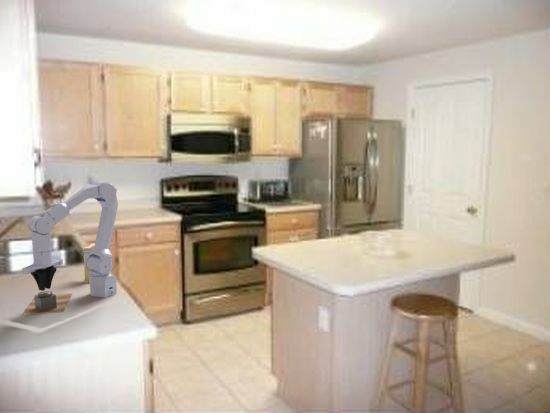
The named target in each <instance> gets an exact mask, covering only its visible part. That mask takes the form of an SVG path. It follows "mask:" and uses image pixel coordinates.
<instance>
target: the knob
mask: <svg viewBox="0 0 550 413" xmlns="http://www.w3.org/2000/svg"><path fill="white" fill-rule="evenodd" d="M55 294H56V293H53V292H52V291H51V290H47V291H46V290H44V291H39V292H38V293H37V294H35V295H34V297H35V308H36V309H38V310H40V311H41V312H42V311H46V310H49V309H53V308H57V302H56V295H55ZM34 297H33V298H34Z"/></svg>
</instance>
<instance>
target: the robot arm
mask: <svg viewBox="0 0 550 413" xmlns="http://www.w3.org/2000/svg"><path fill="white" fill-rule="evenodd" d="M117 191H118V189H117V187H115V184H113V183H112V182H110V181H101V180H92V181H89V183H87V184H84V186H83V187H82V188H81V189H79V190H78V191H77V192H75V193H74V194H72V196H70V197H69V198H67V199H66V200H65V201H64V202H53V203H52V204H51V207H49V208H47V209H46V210H45V211H41V212H39V215H35V216H32V217H31V218H30V220H29V223H28V224H27V228H28V231H30V232H31V243H32V255H33V256H32V258H33V262H32V264H30V265H27V266H26V267H22V268H21V270H22V271H21V272H22V273H21V274H23V275H29V274H30V275H31V276H32V278H33V279H34V280H35V283H36V285H37V287H38V290H39V291H40V292H44V291H46V290H50V289H51V286H52V282H53V278H54V276H55V274H56V272H57V267H56V266H61V265H63V264H64V263H63V261H64V260H63V258H55V259H53V255H52V252H53V251H52V240H51V237H52V236H51V232H52V231H53V229H54V227H55V226H56V225H57V224H59V223H60V222H61V221H63V220H64V219H66V218H68V216H69V215H70V212H71V210H73V209H75V207H78V206H79V205H81V204H82V203H83V202H85V201H87V200H89V199H94V200H96V201H97V202H98V203H99V205H100V206H101V211H100V217H99V222H98V226H97V230H96V236H95V241H94V243H95V246H94V248H93V249H92V250H91V251H90V253H89V256H88V258H87V259H86V261H85V266H86V268H87V269H88V270H89V280H90V284H89V294H90V296H92V297H98V298H105V299H106V298H108V297H110V296H114V295H115V294H117V293H118V291H117V290H118V289H117V279H116V277H115V276H114V275H112V274H111V273H110V272H111V271H112V269H113V268H114V267H113V265H114V264H113V260H112V259H113V254H112V253H111V250H110V248H111V242H112V237H113V232H114V227H115V223H116V222H115V221H116V218H117V217H116V216H117V213H118V208H119V202H118V197H117V193H118V192H117Z"/></svg>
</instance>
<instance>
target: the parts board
mask: <svg viewBox="0 0 550 413" xmlns="http://www.w3.org/2000/svg"><path fill="white" fill-rule="evenodd" d="M54 294H55V295H56V302H57V308H53V309H49V310H46V311H42V312H41V311H40V310H38V309H36V308H35V297H33V298H32V299H31V302H29V304H28V305H27V307H26V308H25V309H24V311H23V312H22V313H21V315H20V316H30V315H31V316H32V315H33V316H34V315H44V314H45V315H47V314H56V313H64V311H65V309H66V307H67V306H68V303H69V301H70V299H71V298H72V296H73V292H70V293H69V292H68V293H67V292H66V293H54Z"/></svg>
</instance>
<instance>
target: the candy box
mask: <svg viewBox="0 0 550 413" xmlns="http://www.w3.org/2000/svg"><path fill="white" fill-rule="evenodd" d="M94 246H95V242H94V243H90V244H88V245H87V246H84V247H83V264H84V266H83V267H84V270H83V271H84V284H86V285H90V280H89V270H88V269H87V268H86V266H85V261H86V259H87V258H88V256H89V253H90V251H91V250H92V249H93V248H94Z"/></svg>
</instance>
